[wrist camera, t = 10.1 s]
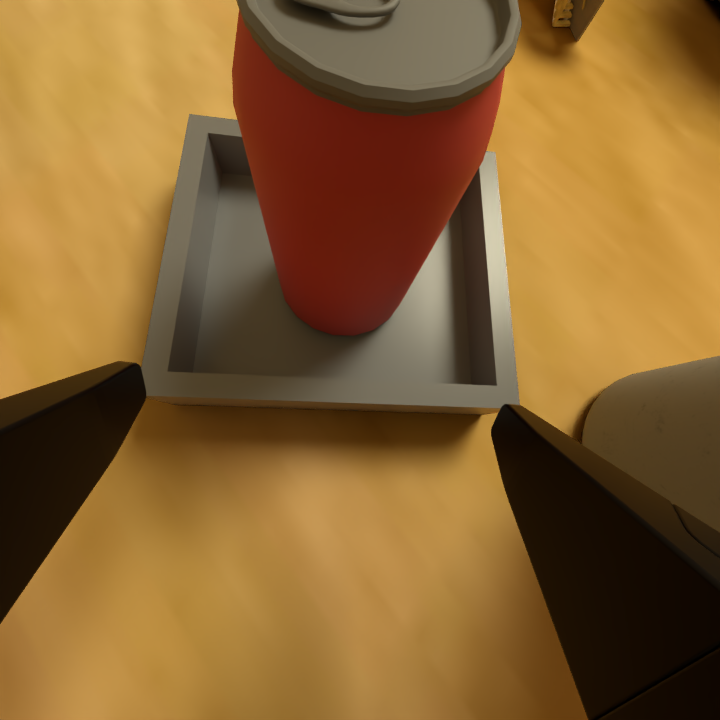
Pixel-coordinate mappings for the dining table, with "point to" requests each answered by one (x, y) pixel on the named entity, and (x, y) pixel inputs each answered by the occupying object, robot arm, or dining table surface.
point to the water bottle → (665, 433)
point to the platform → (575, 14)
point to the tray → (295, 337)
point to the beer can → (364, 138)
